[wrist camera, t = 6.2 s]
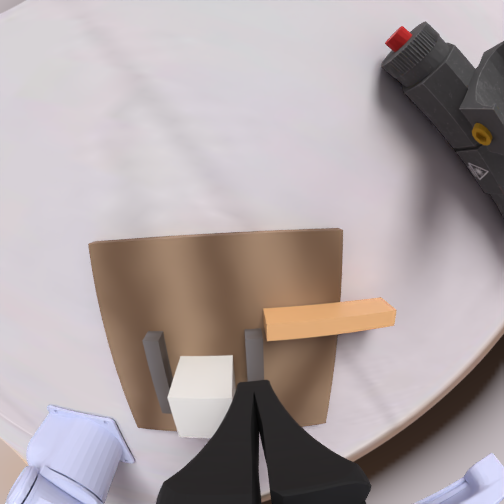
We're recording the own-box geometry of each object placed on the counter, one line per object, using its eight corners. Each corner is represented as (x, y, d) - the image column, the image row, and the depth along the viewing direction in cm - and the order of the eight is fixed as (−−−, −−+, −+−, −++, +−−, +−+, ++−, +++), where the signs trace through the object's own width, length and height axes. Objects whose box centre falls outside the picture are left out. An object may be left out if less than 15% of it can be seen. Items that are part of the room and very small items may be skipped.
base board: (140, 421, 23) (134, 437, 20) (94, 241, 19) (78, 247, 17) (323, 416, 23) (329, 433, 21) (338, 228, 20) (351, 233, 17)
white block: (188, 394, 21) (179, 437, 16) (180, 356, 20) (167, 397, 15) (236, 394, 21) (236, 438, 16) (232, 355, 20) (231, 398, 15)
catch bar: (263, 323, 20) (267, 341, 17) (263, 308, 19) (266, 324, 17) (379, 311, 20) (393, 325, 18) (380, 297, 20) (396, 309, 17)
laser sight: (494, 254, 21) (563, 280, 11) (349, 83, 18) (419, 23, 8) (523, 186, 20) (586, 195, 10) (398, 24, 16) (457, -26, 6)
